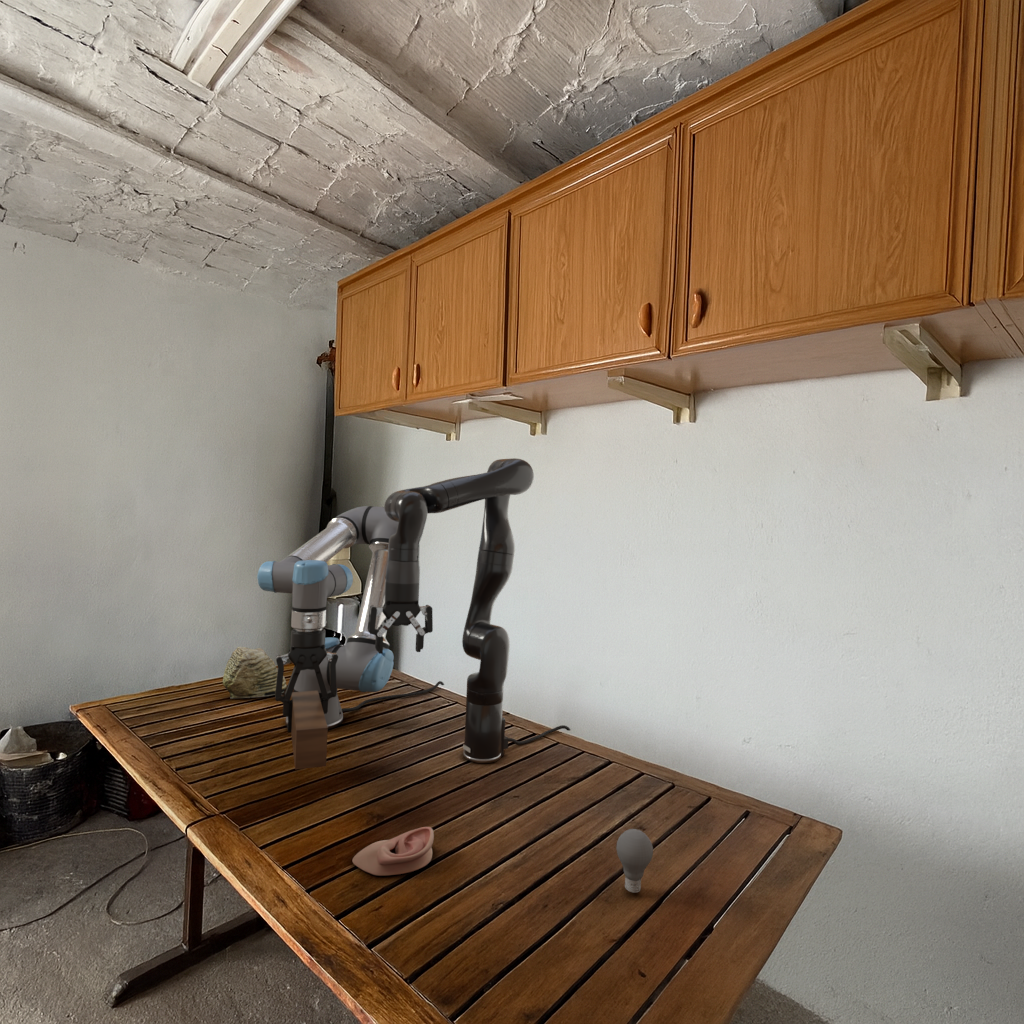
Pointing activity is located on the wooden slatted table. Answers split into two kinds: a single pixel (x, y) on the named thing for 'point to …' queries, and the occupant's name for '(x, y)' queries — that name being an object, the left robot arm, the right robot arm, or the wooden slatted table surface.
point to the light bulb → (634, 857)
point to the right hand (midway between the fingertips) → (399, 652)
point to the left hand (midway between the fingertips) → (304, 728)
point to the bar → (308, 730)
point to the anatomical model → (397, 853)
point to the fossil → (251, 674)
